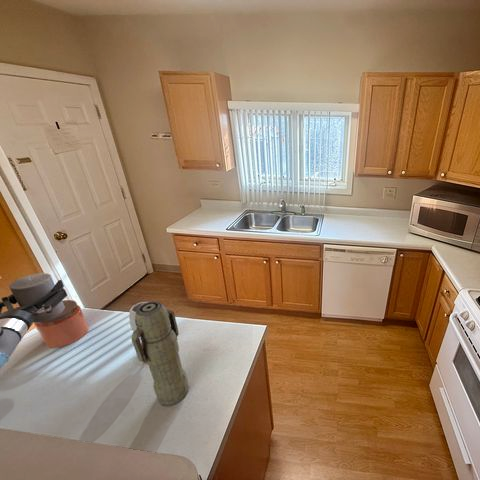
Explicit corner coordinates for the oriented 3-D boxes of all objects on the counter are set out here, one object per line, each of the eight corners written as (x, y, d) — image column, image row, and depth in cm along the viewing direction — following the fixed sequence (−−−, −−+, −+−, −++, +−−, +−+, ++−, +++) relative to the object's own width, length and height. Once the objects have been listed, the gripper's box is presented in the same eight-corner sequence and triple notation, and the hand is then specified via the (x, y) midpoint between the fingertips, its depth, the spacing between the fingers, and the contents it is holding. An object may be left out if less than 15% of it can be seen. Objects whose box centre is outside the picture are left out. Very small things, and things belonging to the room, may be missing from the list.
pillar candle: (19, 325, 84) (-3, 287, 78) (38, 306, 92) (20, 271, 86) (56, 319, 87) (38, 282, 81) (71, 302, 95) (56, 267, 89)
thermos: (147, 407, 78) (114, 318, 64) (175, 374, 89) (153, 291, 74) (171, 415, 76) (143, 325, 62) (197, 380, 87) (178, 297, 73)
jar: (36, 350, 95) (20, 323, 90) (59, 326, 107) (47, 301, 102) (77, 345, 98) (64, 319, 93) (95, 322, 110) (85, 297, 105)
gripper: (-43, 351, 68) (1, 303, 86) (66, 326, 78) (86, 287, 96) (-59, 330, 65) (-9, 285, 83) (56, 306, 75) (79, 270, 93)
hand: (42, 286), depth 89 cm, fingers closed on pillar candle, 9 cm apart
